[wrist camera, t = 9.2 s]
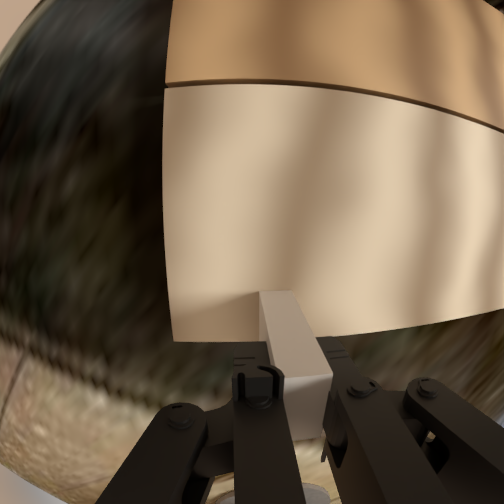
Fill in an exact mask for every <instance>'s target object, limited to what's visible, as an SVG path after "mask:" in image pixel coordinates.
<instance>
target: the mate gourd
mask: <svg viewBox="0 0 504 504" xmlns="http://www.w3.org/2000/svg"><path fill="white" fill-rule="evenodd" d="M302 486H303V491H304V495H305V500H306V504H330V496H329V494H328V491H326V490H325V489H324V488H322V487H320V486H318V485H313V484H309V483H302ZM215 504H235V496H234V491H232V492H230V493H227V494H225V495H224V496H222V497H220V498H219V499H218V500H217V501H216V503H215Z"/></svg>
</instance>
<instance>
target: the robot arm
mask: <svg viewBox="0 0 504 504" xmlns="http://www.w3.org/2000/svg"><path fill="white" fill-rule="evenodd" d="M232 393H233V397H232V399H231V400H230V401H229V402H228V403H227V404H226V405H224V406H222V407H221V408H218V409H215V410H211V411H206V412H204V411H203V410H202V409H201V408H199V407H198V406H196V405H193V404H190V403H174V404H170V405H168V406H165V407H163V408H162V409H161V410H160V411H159V412H158V413H157V414H156V415H155V417H154V418H153V420H152V421H151V423H150V424H149V426H148V427H147V429H146V430H145V432H144V433H143V434H142V436H141V437H140V439H139V440H138V442H137V443H136V445H135V446H134V448H133V449H132V451H131V452H130V453H129V455H128V456H127V458H126V459H125V461H124V462H123V464H122V465H121V467H120V468H119V469H118V471H117V472H116V474H115V475H114V477H113V478H112V480H111V481H110V483H109V484H108V485H107V487H106V488H105V490H104V491H103V493H102V494H101V495H100V497H99V498H98V500H97V501H96V503H95V504H205V502H206V500H207V497H208V495H209V492H210V489H211V487H212V484H213V482H214V479H215V476H218V475H222V474H226V473H230V472H234V496H235V504H306V500H305V495H304V491H303V486H302V482H301V477H300V473H299V468H298V464H297V459H296V455H295V451H294V446H293V442H292V441H295V440H303V439H311V438H319V437H321V433H322V429H323V428H324V431H325V434H326V440H325V444H324V448H323V452H322V456H321V462H325V459H326V455H327V458H328V461H329V464H330V467H331V470H332V474H333V477H334V480H335V483H336V486H337V489H338V493H339V496H340V499H341V502H342V504H504V428H503V427H502V426H500V425H499V424H497V423H496V422H495V421H493V420H492V419H490V418H489V417H488V416H486V415H485V414H484V413H482V412H481V411H479V410H478V409H477V408H475V407H474V406H473V405H471V404H470V403H468V402H467V401H466V400H464V399H463V398H461V397H460V396H459V395H457V394H456V393H454V392H453V391H452V390H450V389H449V388H448V387H446V386H445V385H443V384H442V383H441V382H439V381H437V380H435V379H431V378H417V379H414V380H412V381H411V382H410V383H409V384H408V387H407V389H406V391H386V390H383V389H382V388H381V386H380V385H379V384H378V383H377V382H376V381H374V380H372V379H370V378H366V377H362V375H361V374H360V372H359V370H358V369H357V367H356V365H355V364H354V362H353V361H352V359H351V357H349V354H348V353H347V351H345V348H344V346H343V345H342V343H341V342H340V341H339V340H337V339H335V338H334V337H332V336H325V337H315V336H314V334H313V332H312V330H311V328H310V326H309V324H308V322H307V320H306V318H305V316H304V314H303V312H302V310H301V308H300V306H299V304H298V302H297V300H296V298H295V296H294V294H293V292H292V290H280V291H259V341H257V342H239V343H238V345H237V346H236V347H235V348H234V373H233V376H232ZM430 431H431V432H432V433H433V434H434V435H435V438H434V439H430V438H428V437H427V436H428V434H429V432H430Z"/></svg>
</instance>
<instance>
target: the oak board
mask: <svg viewBox="0 0 504 504" xmlns="http://www.w3.org/2000/svg"><path fill="white" fill-rule="evenodd" d="M165 83H166V85H167V86H168V87H169V88H176V87H187V86H202V85H226V84H263V85H287V86H302V87H313V88H323V89H332V90H340V91H347V92H354V93H360V94H366V95H372V96H378V97H383V98H388V99H393V100H397V101H402V102H406V103H410V104H415V105H419V106H422V107H426V108H430V109H434V110H437V111H441V112H444V113H447V114H451V115H454V116H457V117H460V118H463V119H466V120H469V121H472V122H475V123H477V124H480V125H483V126H485V127H488V128H491V129H493V130H496V131H498V132H501V133H503V134H504V14H502V13H501V12H500V11H498V10H497V9H495V8H494V7H492V6H491V5H489V4H488V3H486V2H485V1H483V0H173V7H172V15H171V23H170V32H169V41H168V52H167V64H166V79H165Z"/></svg>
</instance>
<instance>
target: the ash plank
mask: <svg viewBox="0 0 504 504" xmlns="http://www.w3.org/2000/svg"><path fill="white" fill-rule="evenodd" d="M162 176H163V219H164V240H165V257H166V271H167V283H168V294H169V304H170V314H171V323H172V331H173V339H174V341H182V342H244V341H259V291H280V290H292V292H293V294H294V296H295V298H296V300H297V302H298V304H299V306H300V308H301V310H302V312H303V314H304V316H305V318H306V320H307V322H308V324H309V326H310V328H311V330H312V332H313V334H314V336H315V337H325V336H343V335H352V334H362V333H370V332H378V331H386V330H393V329H400V328H407V327H413V326H419V325H425V324H431V323H437V322H442V321H447V320H452V319H457V318H462V317H467V316H472V315H476V314H481V313H485V312H489V311H493V310H498V309H502V308H504V134H503V133H501V132H498V131H496V130H493V129H491V128H488V127H485V126H483V125H480V124H477V123H475V122H472V121H469V120H466V119H463V118H460V117H457V116H454V115H451V114H447V113H444V112H441V111H437V110H434V109H430V108H426V107H422V106H419V105H415V104H410V103H406V102H402V101H397V100H393V99H388V98H383V97H378V96H372V95H366V94H360V93H354V92H347V91H340V90H332V89H323V88H313V87H302V86H287V85H263V84H226V85H202V86H187V87H176V88H166V89H165V95H164V116H163V158H162Z"/></svg>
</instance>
